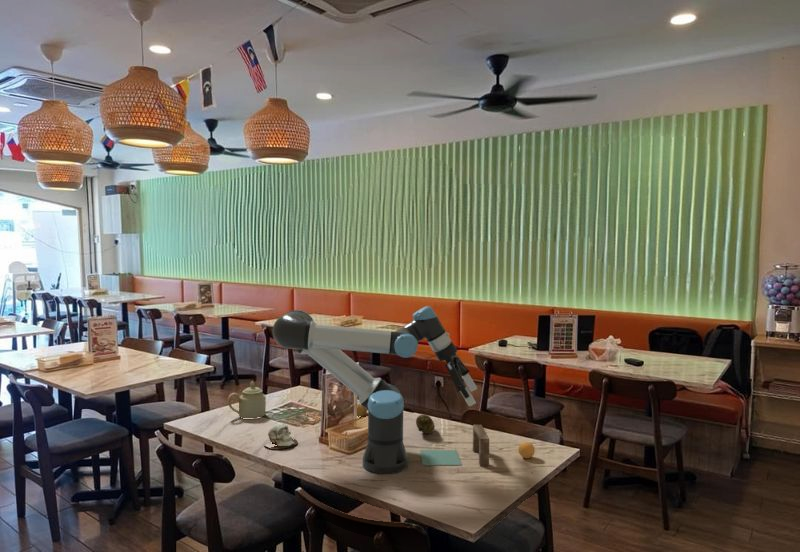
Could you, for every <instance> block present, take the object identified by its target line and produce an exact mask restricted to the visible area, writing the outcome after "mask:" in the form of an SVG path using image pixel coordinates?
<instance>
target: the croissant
mask: <svg viewBox="0 0 800 552" xmlns="http://www.w3.org/2000/svg"><path fill="white" fill-rule="evenodd" d="M366 413H368V410H367V409H366V408H364V407H363V406H362V405H361V404H360V403H358V404H357V416H358V417H359V416H362V415H363V416H364V415H365V414H366ZM363 416H362V417H363Z"/></svg>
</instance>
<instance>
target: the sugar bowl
mask: <svg viewBox="0 0 800 552" xmlns="http://www.w3.org/2000/svg"><path fill="white" fill-rule="evenodd" d="M249 384H250V386H249V387H246V388H245V389H244V390H242V394H241V395H239V394H238V393H237V392H232V393H230V394H229V395H228V397H227V405H228V407H229V408H230V409H231V411H234V412H235V413H237V414H238V417H239V416H240V417H242V418H257V417H262V416H264V415H265V416H266V407H267V405H266V401H267V399H266V394H264V393H262V392H263V391H264V390H263V389H261V388H260V387H258V386H256V383H255V382H254V381H253V380H252V381H251V382H250V383H249ZM233 396H236V399H237V402H238V410H237V409H235V408H234V407H233V406H232V403H231V400H232V397H233ZM265 416H264V417H265ZM240 417H239V418H240ZM242 418H241V419H242ZM262 418H263V417H262Z"/></svg>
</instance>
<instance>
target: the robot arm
mask: <svg viewBox="0 0 800 552" xmlns="http://www.w3.org/2000/svg"><path fill="white" fill-rule="evenodd" d="M412 318H413V319H412V320H411V322H408V324H405V325H404V326H402V327H400V328H399V329H397V330H395V331H390V330H381V329H371V328H370V329H369V328H358V327H349V326H348V327H347V326H338V325H327V324H318V323H316V322H315V321H314V319H313V317H312V316H311V315H310V314H309V313H307V312H306V311H303V310H298V309H293V310H290V311H288V312H286V313H284V314H283V315H281V316H279V318H277V319H276V321H275V322H274V324H273V327H272V337H273V339H274V341H275V342H276V344H278V345H279V346H280V347H282V348H284V349H289V350H295V351H296V352H297V353H299V354H300V355H308V356H309V357H310V358H312V359H313V360H314V361H315V362H316V363H317V364H319V366H321V367H322V368H323V369H325V371H327V372H328V373H329V374H330V375H331V376H333V377H334V378H335V379H337V380H338V381H339V382H340V383H341V384H342V385H344V386H345V387H346V388H347V389H348V390H349V391H351V392H352V393H353V394H354V395H355V396H357V397H358V401H359V403H358V404H360V405H362V406H363V407H364V408H366V409H367V414H368V415H367V421H368V422H367V443H366V447H365V449H364V452H363V455H362V467H363V469H365V470H367V471H369V472H372V473H374V474H375V473H376V474H395V473H399V472H400V473H401V472H402V471H404V470H406V469H407V467H408V466H409V457H408V454H407V450H406V448H405V445H404V408H405V403H404V398H403V396H402V394H401V392H400V390H399V388H397V387H396V386H394V385H392V384H390V383H387V382H386V380H384V379H383V378H381V377H373V375H371V374H370V373H369V372H367V371H366V370H365V369H364V368H362V367H361V366H360V365H359V364H358V363H357V362H355V360H353V358H351V357H350V356H348V355H347V354H346V353H345V352H343V351H353V352H363V353H374V354H375V353H376V354H387V355H394V356H395V355H396V356H398V357H401V358H405V359H407V358H412V357H413V356H414V355H415V354H416V352H417V349H418V346H419V344H418V343H419V342H421V341H423V340H424V339H425V340H426V341H427V343H428V345H429V346H430V348H431V350H432V351H433V352H434V355H435V356H436V358H437V360H438V361H439V362H443V361H445V362H446V364H445V368H446V369H447V372H448V374H449V375H450V377H451V380H452V382H453V384H454V386H455V388H456V392H457V393H458V392H459V393H460V394H461V396H462V398H463V399H464V400H465V402H466V404H467V405H468V407H471V406H473V405H475V404H477V402H476V400H475V398H474V396H473V395H472V392H474V391H476V390H478V386H477V385H476V383H475V382H474V379H473V378H472V377H471V375H470V374H469V373H470V369H468V367H467V366H466V365H465V364H464V363H463V361H462V359H460V358H459V355H457V352H458V349H457V347H456V346H455V343H454V342H452V340H451V338H450V333H448V332H447V331H446V329H445V328H444V326H443V324H442V322H441V320H440V319H439V317H438V316H437V314H436V312H435V311H434V309H433V308H432V306H430V305H426V306H424V307H421V308H420V309H418V310H417V311H415V312H413V314H412ZM465 384H466V385H465Z"/></svg>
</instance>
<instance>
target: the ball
mask: <svg viewBox="0 0 800 552" xmlns="http://www.w3.org/2000/svg"><path fill="white" fill-rule="evenodd" d="M535 450H536V449H535V446H534V445H533V444H532V443H531V442H529V441H522V442H521V443H519V445H518V453H519V456H521V457H522V458H524V459H530V458H532V457H533V456H534V455H535V452H536V451H535Z"/></svg>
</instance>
